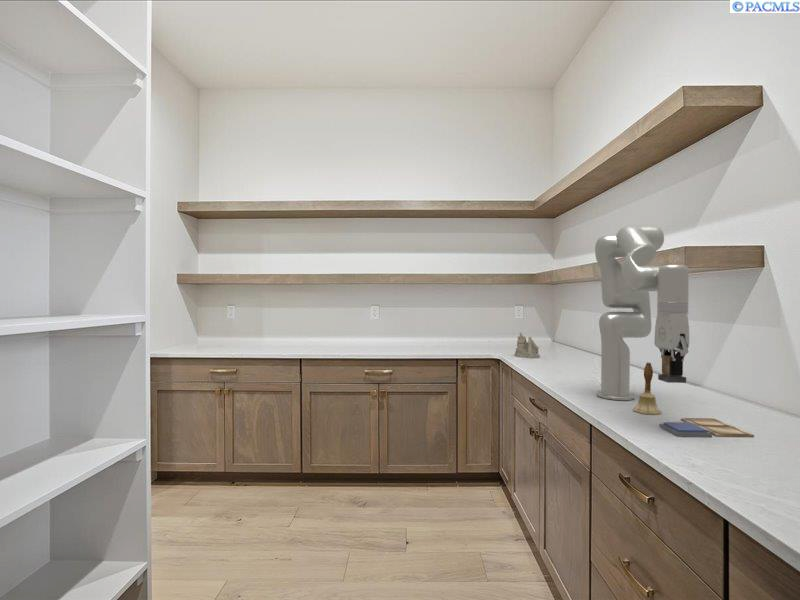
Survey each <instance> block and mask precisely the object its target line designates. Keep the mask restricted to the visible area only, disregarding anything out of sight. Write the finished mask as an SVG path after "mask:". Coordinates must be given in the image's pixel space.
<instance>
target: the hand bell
mask: <svg viewBox="0 0 800 600" xmlns="http://www.w3.org/2000/svg"><path fill="white" fill-rule="evenodd" d="M653 370H654V369H653V367H652V363H651V362H646V364H645V367H644V369H643V378H644V381H645V383H644V392H643V393H640V394H639V397H638V402H637V404H636V405H635V406H634V407H633V408H632V411H633V412H635V413H638V414H643V415H651V416H652V415H653V416H657V415H661V414H663V413H662V412H663V411H662V410H660V408H659V407H658V404H657V401H656V396H655V395H654V394H653V393H652V391H651V390H652V389H651V385H652V380H653V375H654V371H653Z"/></svg>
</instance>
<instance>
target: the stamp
mask: <svg viewBox="0 0 800 600" xmlns="http://www.w3.org/2000/svg"><path fill="white" fill-rule="evenodd" d="M670 361H672V358H671V356H667V355H663V357H662V358H661V374H660V373H659V374H657V375H658V376H657V378H658V379H657V380H659V381H662V382H665V383H667V384H668V383H671V384H672V383H673V384H674V383H676V384H678V383H679V384H686V383H687V377H686V376H683V375H670Z"/></svg>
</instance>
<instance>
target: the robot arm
mask: <svg viewBox="0 0 800 600" xmlns="http://www.w3.org/2000/svg"><path fill="white" fill-rule="evenodd" d="M664 243H665V234H664V232H663V230H662V229H661V227H659V226H658V225H652V224H650V225H648V224H647V225H645V224H643V225H636V224H635V225H627V226H624V227H622V228H620V229H619V230H618V231H617V232H616V234H607V235H602V236H600V237H598V239H597V240H596V242H595V247H594V253H595V259H596V263H597V265H598V269H599V271H600V285H601V300H602V303H603V305H604V306H605V307H606V308H609V309H632V311H607V312H605V313H603V314H601V315H600V317H599V320H598V326H599V333H600V342H601V346H600V347H601V353H600V354H601V356H600V357H601V360H600V367H601V368H600V369H601V370H600V372H601V373H600V375H601V376H600V390H597V391H596V392H595V394H596V396H597V397H599V398H601V399H607V400H613V401H631V400H634V399H635V395H634V394H633V393H630V380H631V379H630V378H631V377H630V375H631V374H630V372H631V371H630V368H631V365H630V362H631V360H630V359H631V355H630V354H631V351H630V347H629V345H628V344H627V343H626V341H624V338H625V339H627V338H635V339H637V338H640V339H641V338H647V337H648V336H649V335H650V333H651V331H652V312H651V310H652V309H651V298H650V292H657V296H656V297H657V298H656V299H657V300H656V301H657V305H656V306H657V311H656V312H657V313H656V318H655V325H654V326H655V327H654V340H653V341H654V342H653V343H654V346H655V347H656V348H658V350H659V351H660V357H661V359H662V357H663V355H667V356H671V358H672V361H670V375H682V376H683V374H684V361H685V357H686V355H688V353H689V349H690V348H689V347H690V326H689V317H688V315H689V273H690V271H689V268H688V266H686V265H685V264H666V265H661V266H659V265H649V264H651V263H652V262H653V260H655V258H656V257H657V252H658V251H659V250H660V249H661V248H662V247H663V245H664ZM617 258H622V259H623V261H622V263H621V262H620V261H619V260H617Z"/></svg>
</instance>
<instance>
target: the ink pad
mask: <svg viewBox="0 0 800 600" xmlns="http://www.w3.org/2000/svg"><path fill="white" fill-rule="evenodd" d="M660 427H661V428H660ZM659 428H660V429H662V430H664V431H666V430H667V431H666V432H668V433H670V434H672V435H674V436H676V437H677V436H681V437H680V438H713V435H712V433H710V432H708V430H706V429H704V428H701V427H699V426H697V425H695V424H693V423H690V422H684V421H678V422H677V421H663V423H661V422H660V423H659Z"/></svg>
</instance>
